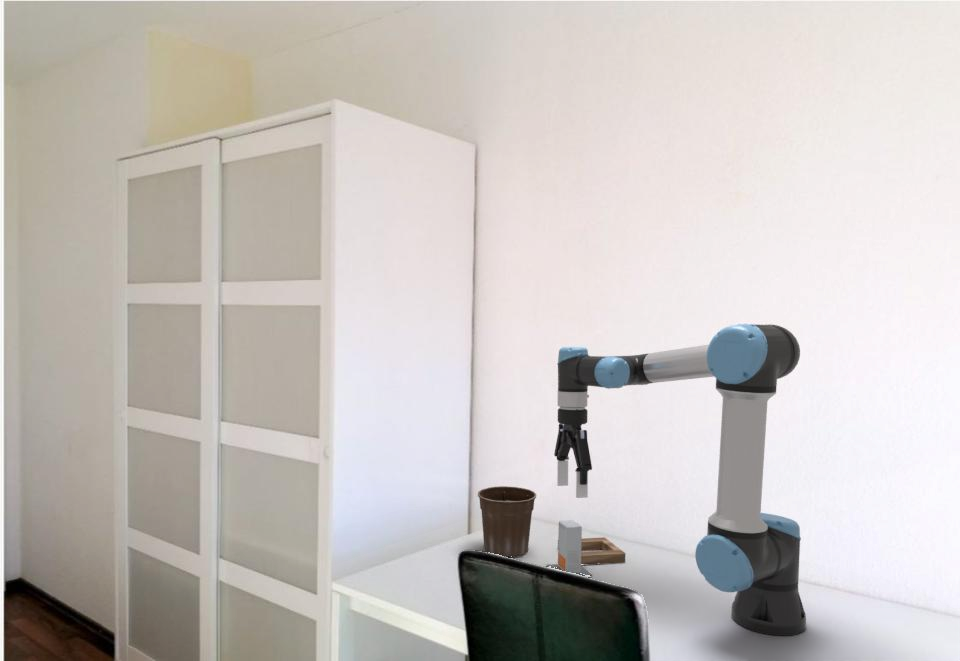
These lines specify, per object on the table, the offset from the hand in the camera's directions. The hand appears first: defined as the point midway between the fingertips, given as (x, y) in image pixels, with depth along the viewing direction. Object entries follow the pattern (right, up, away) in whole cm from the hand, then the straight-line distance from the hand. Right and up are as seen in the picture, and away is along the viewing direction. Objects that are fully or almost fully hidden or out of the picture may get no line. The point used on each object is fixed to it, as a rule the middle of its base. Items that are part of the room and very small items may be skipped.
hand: (571, 491), depth 188 cm
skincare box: (-1, -20, +1) cm, 20 cm away
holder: (+7, -21, +14) cm, 26 cm away
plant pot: (-16, -20, +16) cm, 31 cm away
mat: (-1, -21, +1) cm, 21 cm away
